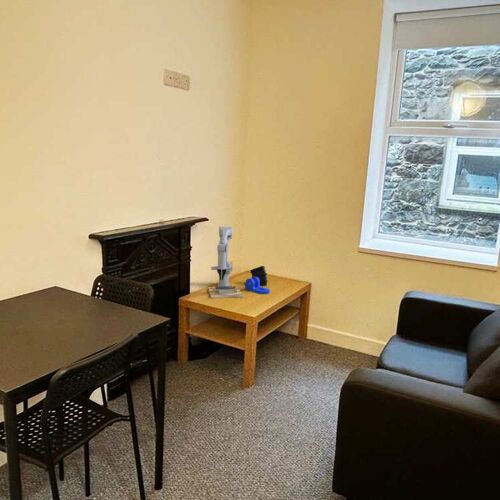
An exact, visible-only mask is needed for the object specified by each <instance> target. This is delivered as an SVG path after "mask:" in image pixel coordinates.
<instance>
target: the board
mask: <svg viewBox="0 0 500 500" xmlns="http://www.w3.org/2000/svg"><path fill="white" fill-rule="evenodd" d="M236 288H237V293H234V291H233V294H219V293H218V290H216V289H215V293H213V287H208V289H209V290H208V292H209V296H210V298H211V299H242V298H244V295H243V293H242V292H241V289H240V287H237V286H236Z"/></svg>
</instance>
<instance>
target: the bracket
mask: <svg viewBox="0 0 500 500" xmlns="http://www.w3.org/2000/svg"><path fill="white" fill-rule="evenodd" d="M244 286H245V287H244V289H245V291H249V292H253V293H257V294H259V295H269V294H270V293H271V289H269V288H267V287H264V286H263V287H262V286H261V285H260V280H259V278H258V277H252V276H251V277H249V278H247V279H245V284H244Z"/></svg>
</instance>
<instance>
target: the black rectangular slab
mask: <svg viewBox="0 0 500 500" xmlns="http://www.w3.org/2000/svg"><path fill="white" fill-rule="evenodd" d="M249 273H250V274H251V278H252V277H258V278H259V280H260V287H262V286H263V287H267V285H268V283H269V282H268V277H267V275H268V273H267V272H266V266H264V265H260V266H258V267H255V268H252V269H250V271H249Z"/></svg>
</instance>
